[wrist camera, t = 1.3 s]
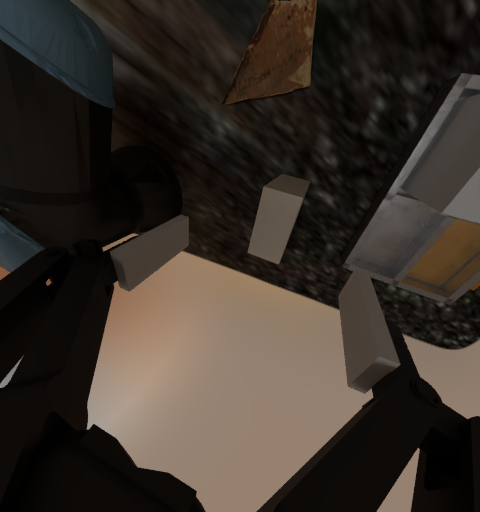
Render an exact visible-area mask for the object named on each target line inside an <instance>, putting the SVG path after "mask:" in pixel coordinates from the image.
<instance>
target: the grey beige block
mask: <svg viewBox="0 0 480 512" xmlns="http://www.w3.org/2000/svg"><path fill="white" fill-rule="evenodd" d="M309 184H310V181H307V180H303V179H300V178H296V177H292V176H288V175H285V174H281V175H280V176H279V177H277V178H276V179H274V180H273V181H271V182H270V183H268V184H267V185H265V186H264V188H263V192H262V196H261V200H260V204H259V208H258V212H257V216H256V220H255V224H254V228H253V232H252V236H251V240H250V244H249V248H248V253H249V254H252V255H255V256H257V257H260V258H263V259H265V260H268V261H271V262H274V263H276V264H279V262H280V260H281V257H282V255H283V252H284V250H285V247H286V245H287V242H288V239H289V237H290V234H291V232H292V229H293V226H294V224H295V221H296V218H297V216H298V213H299V211H300V208H301V205H302V203H303V200H304V197H305V195H306V192H307V189H308V187H309Z"/></svg>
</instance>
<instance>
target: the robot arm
mask: <svg viewBox="0 0 480 512" xmlns="http://www.w3.org/2000/svg"><path fill="white" fill-rule="evenodd" d="M112 108H115V99H114V96H113V59H112V53H111V49H110V47H109V44H108V42H107V40H106V38H105V36H104V34H103V33H102V31H101V30H100V29H99V27H98V26H97V25H96V24H95V23H94V21H93V20H92V19H91V18H90V17H88V16H87V15H86V14H85V13H84V12H83V11H82V10H80V9H79V8H78V7H77V6H76V5H74V4H73V3H72V2H71V1H70V0H0V266H1V267H3V268H4V269H6V270H7V271H9V272H11V273H10V274H8V275H7V276H5V278H3V279H2V280H0V383H1V382H2V381H3V379H4V378H5V377H6V376H7V374H8V373H9V372H10V371H11V369H12V368H13V367H14V366H15V365H16V364H17V362H18V361H19V360H20V359H21V358H22V356H23V355H24V356H23V358H22V360H21V361H20V363H19V365H18V367H17V369H16V371H15V372H14V374H13V376H12V378H11V380H10V381H9V383H8V384H7V385H6V386H5V387H3V388H0V512H205V510H204V508H203V506H202V504H201V503H200V502H199V500H198V499H197V497H196V493H197V491H196V490H194V489H192V488H191V487H189V486H188V485H186V484H185V483H183V482H182V481H180V480H179V479H177V478H175V477H174V476H173V475H171V474H170V473H167V472H161V471H155V470H149V469H144V468H138V467H137V466H136V465H135V463H134V462H133V460H132V458H131V457H130V456H129V455H128V453H127V452H126V451H125V449H124V448H123V447H122V445H121V444H120V443H119V441H118V440H117V439H116V438H115V437H113V436H112V435H110V434H109V433H107V432H105V431H104V430H102V429H101V428H99V427H98V426H96V425H95V424H93V425H92V427H91V428H90V429H89V430H86V429H87V423H88V410H87V402H88V397H89V393H90V388H91V384H92V380H93V376H94V372H95V367H96V363H97V359H98V354H99V350H100V346H101V342H102V338H103V333H104V329H105V324H106V320H107V316H108V312H109V308H110V304H111V299H112V295H113V291H114V284H113V283H115V282H116V281H118V282H119V286H120V287H121V288H123V289H125V290H127V291H131V290H132V289H134V288H135V287H136V286H137V285H139V284H140V283H141V282H142V281H144V280H145V279H146V278H148V277H149V276H150V275H151V274H153V273H154V272H155V271H157V270H158V269H159V268H160V267H162V266H163V265H164V264H166V263H167V262H168V261H169V260H171V259H172V258H173V257H174V256H176V255H177V254H178V253H180V252H181V251H182V250H183V249H185V248H186V247H187V246H189V217H187V216H183V215H180V212H181V207H182V196H181V191H180V187H179V184H178V181H177V178H176V176H175V174H174V172H173V171H172V169H171V168H170V166H169V165H168V164H167V162H166V161H165V160H164V159H163V158H162V157H161V156H160V155H159V154H157V153H156V152H155V151H153V150H151V149H149V148H147V147H143V146H125V147H121V148H119V149H117V150H115V151H113V152H111V132H112ZM144 232H146V233H144ZM133 233H144V234H142V235H138V236H134V237H132V238H130V239H128V240H127V241H124V242H122V243H120V244H118V245H116V246H114V247H112V248H110V249H108V250H106V251H104V252H103V249H102V247H105V246H106V245H109V244H111V243H113V242H115V241H117V240H119V239H122V238H124V237H126V236H128V235H130V234H133ZM48 279H50V281H51V284H50V285H49V286H47V285H46V281H47V280H48ZM338 297H339V307H340V316H341V326H342V335H343V345H344V354H345V364H346V373H347V383H348V387H351V388H353V389H355V390H357V391H360V392H362V393H364V394H365V393H366V392H367V391H369V390H370V389H371V388H372V392H373V397H374V398H372V399H371V400H370V401H368V402H367V403H366V404H364V405H363V406H362V407H363V408H362V409H361V410H360V411H359V412H358V413H357V414H355V415H354V417H353V418H351V419H350V421H348V423H346V424H345V425H344V426H343V427H342V428H341V429H340V430H339V431H338V432H337V433H336V434H335V435H334V436H333V437H332V438H331V439H330V440H329V441H328V442H327V443H326V444H325V445H324V446H323V447H322V448H321V449H320V450H319V451H318V452H317V453H316V454H315V455H314V456H313V457H312V458H311V459H310V460H309V461H308V462H307V463H306V464H305V465H304V466H303V467H302V468H301V469H300V470H299V471H298V472H297V473H295V475H293V476H292V477H291V478H290V479H289V480H288V481H287V482H286V483H285V484H284V485H283V486H282V487H281V489H279V490H278V491H277V492H276V493H275V494H274V495H273V496H272V497H271V498H270V499H269V500H268V501H267V502H266V503H265V504H264V505H263V506H262V507H261V508H260V509H259V510H258V511H257V512H377V510H378V508H379V507H380V505H381V504H382V502H383V500H384V499H385V498H386V496H387V495H388V493H389V491H390V490H391V488H392V487H393V485H394V484H395V482H396V481H397V479H398V478H399V476H400V475H401V473H402V471H403V470H404V468H405V467H406V465H407V464H408V462H409V461H410V459H411V458H412V456H413V454H414V453H415V451H416V450H417V448H419V449H420V453H419V459H418V466H417V473H416V480H415V487H414V493H413V500H412V507H411V512H480V417H479V416H475V417H472V418H469V419H466V418H465V417H463V416H462V415H460V414H459V413H457V412H456V411H454V410H453V409H451V408H450V407H448V406H447V405H445V404H444V403H442V400H441V398H440V396H439V395H438V393H437V392H436V390H435V389H434V388H433V387H432V386H431V385H429V383H428V382H426V381H425V380H424V379H422V378H420V376H419V374H418V371H417V369H416V366H415V364H414V361H413V359H412V356H411V354H410V352H409V350H408V349H407V348H408V347H407V345H406V342H404V341H405V340H404V338H403V335H402V332H401V331H400V329H399V328H398V327H397V326H396V324H395V323H394V322H392V321H389V320H386V319H384V316H383V313H382V310H381V307H380V305H379V302H378V299H377V296H376V293H375V290H374V288H373V285H372V282H371V279H370V276H369V273H368V271H365V270H361V269H358V268H355V270H354V272H353V273H352V275H351V276H350V278H349V280H348V281H347V283H346V285H345V286H344V288H343V289H342V291H341V293H340V294H339V296H338Z"/></svg>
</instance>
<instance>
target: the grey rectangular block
mask: <svg viewBox="0 0 480 512" xmlns="http://www.w3.org/2000/svg"><path fill="white" fill-rule="evenodd" d="M400 189H402V190H404V191H405V192H407V193H409V194H410V195H412V196H414V197H415V198H417V199H419V200H420V201H422V202H424V203H425V204H427V205H429V206H430V207H432V208H434V209H435V210H437V211H439V212H440V213H442V214H446V215H450V216H454V217H458V218H461V219H465V220H469V221H473V222H476V223H480V94H477V95H474V96H471V97H468V98H465V99H462V100H459V101H456V102H455V104H454V105H453V107H452V108H451V110H450V111H449V113H448V114H447V116H446V118H445V119H444V121H443V122H442V124H441V125H440V127H439V128H438V130H437V132H436V133H435V135H434V136H433V138H432V139H431V141H430V142H429V144H428V146H427V147H426V149H425V150H424V152H423V153H422V155H421V156H420V158H419V159H418V161H417V163H416V164H415V166H414V167H413V169H412V170H411V172H410V173H409V175H408V177H407V178H406V180H405V181H404V183H403V184H402V186H401V187H400Z"/></svg>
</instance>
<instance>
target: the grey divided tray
mask: <svg viewBox="0 0 480 512" xmlns="http://www.w3.org/2000/svg"><path fill="white" fill-rule="evenodd" d="M477 94H480V76H479V75H471V74H464V73H461V74H459V75H457V76H456V77H454V78H452V79H450V80H448V81H446V82H444V83H443V84H442V86H441V88H440V90H439V91H438V93H437V95H436V96H435V98H434V100H433V101H432V103H431V105H430V107H429V108H428V110H427V112H426V113H425V115H424V117H423V118H422V120H421V122H420V123H419V125H418V127H417V129H416V130H415V132H414V134H413V135H412V137H411V139H410V140H409V142H408V144H407V145H406V147H405V149H404V151H403V152H402V154H401V156H400V157H399V159H398V161H397V162H396V164H395V166H394V167H393V169H392V171H391V173H390V174H389V176H388V178H387V179H386V181H385V183H384V184H383V186H382V188H381V189H380V191H379V193H378V195H377V196H376V198H375V200H374V201H373V203H372V205H371V206H370V208H369V210H368V212H367V213H366V215H365V217H364V218H363V220H362V222H361V223H360V225H359V227H358V228H357V230H356V232H355V234H354V235H353V237H352V239H351V240H350V242H349V244H348V245H347V247H346V249H345V250H344V252H343V254H342V256H341V264H342V267H343V268H346V269H349V270H352V271H354V270H355V268H358V269H361V270H365V271H368V273H369V276H370V277H372V278H375V279H377V280H380V281H383V282H386V283H389V284H392V285H394V286H397V287H400V288H403V289H406V290H409V291H412V292H414V293H417V294H420V295H423V296H426V297H429V298H432V299H434V300H437V301H440V302H443V303H446V304H449V305H451V304H452V303H453V302H454V301H456V300H457V299H458V298H459V297H460V296H462V295H463V294H464V293H465V292H467V291H468V290H469V289H471V290H475V289H476V288H477V287H479V286H480V223H476V222H473V221H469V220H465V219H461V218H458V217H454V216H450V215H446V214H442V213H440V212H439V211H437V210H435V209H434V208H432V207H430V206H429V205H427V204H425V203H424V202H422V201H420V200H419V199H417V198H415V197H414V196H412V195H410V194H409V193H407V192H405V191H404V190H402V189H400V187H401V186H402V184H403V183H404V181H405V180H406V178H407V177H408V175H409V173H410V172H411V170H412V169H413V167H414V166H415V164H416V163H417V161H418V159H419V158H420V156H421V155H422V153H423V152H424V150H425V149H426V147H427V146H428V144H429V142H430V141H431V139H432V138H433V136H434V135H435V133H436V132H437V130H438V128H439V127H440V125H441V124H442V122H443V121H444V119H445V118H446V116H447V114H448V113H449V111H450V110H451V108H452V107H453V105H454V104H455V102H456V101H459V100H462V99H465V98H468V97H471V96H474V95H477Z"/></svg>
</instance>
